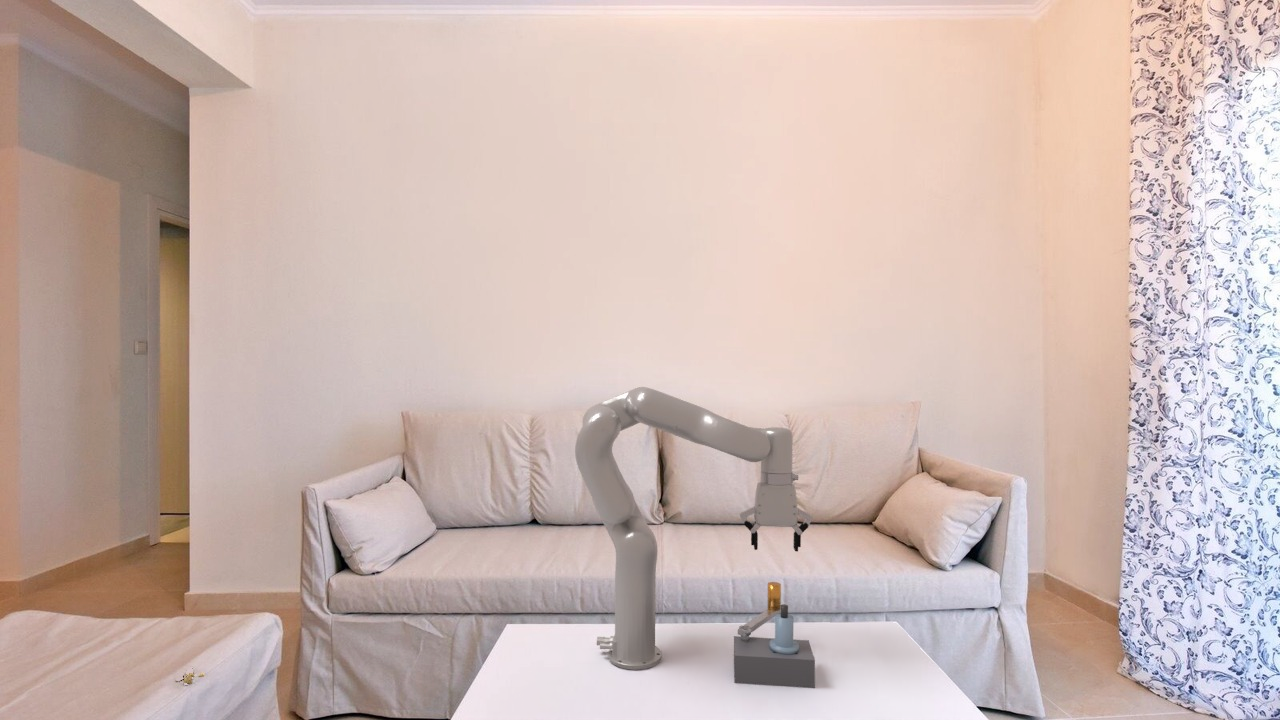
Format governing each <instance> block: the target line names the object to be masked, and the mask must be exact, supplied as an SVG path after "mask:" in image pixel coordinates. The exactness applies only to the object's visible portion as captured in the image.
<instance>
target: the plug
mask: <svg viewBox="0 0 1280 720" xmlns="http://www.w3.org/2000/svg"><path fill="white" fill-rule="evenodd" d="M774 638H775V639H772V640H771V641H770V649H771V650H772V651H773V652H775V653H778V654H783V655H792V654H796V653H797V652H798V651H799V644H798V643H797V642H796V641H794V640H795V639H794V616H793V615H791V614H789V605H787V604H784V603H783V604H782V603H781V610H780V613H779V614H777V615H775V617H774ZM793 639H794V640H793Z"/></svg>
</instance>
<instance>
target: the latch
mask: <svg viewBox="0 0 1280 720" xmlns="http://www.w3.org/2000/svg"><path fill="white" fill-rule="evenodd" d="M781 595H782V585H781V583H779V582H775V581H770V582H768V583H767V609H765V610H764V611H763V612H761V613H760V614H758V615H757V616H755V617H754V618H752V619H751V620H750V621H748V622H747V623H745V624H743V625H740V626H738V628H737V636H738V635H739V636H740V637H741V636H745V637H746V636H749V637H750V636H751V635H752V633H753V632H755V631H756V630H758V628H760V627H762V626H763V625H765V624H766V623H768V622H769V621H771V620H772V619H773V618H775V615H777V614H781V605H782V596H781Z"/></svg>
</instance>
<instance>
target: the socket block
mask: <svg viewBox="0 0 1280 720" xmlns="http://www.w3.org/2000/svg"><path fill="white" fill-rule="evenodd" d="M772 639H775V637H773V638H772V637H756V636H750V635H749V636H746V637H745V636H741V635H739V636H738V635H736V636H735V635H734V636H733V679H734V684H746V685H761V686H772V687H773V686H774V687H775V686H776V687H792V688H805V689H807V688H808V689H815V688H816V687H815V685H816V675H815V674H816V672H815V671H816V659H815V656H814V653H813V650H812V646H811V644H810V640H808V639H794V638H793V640H794V641H796V642H797V643H798V644H799V651H798V652H797V653H796V654H792V655H783V654H778V653H775V652H773V651H772V650H771V649H770V641H771V640H772Z"/></svg>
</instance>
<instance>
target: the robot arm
mask: <svg viewBox="0 0 1280 720" xmlns="http://www.w3.org/2000/svg"><path fill="white" fill-rule="evenodd" d="M638 424H642V425H645V426H648V427H651V428H654V429H656V430H660V431H662V432H664V433H668V434H670V435H673V436H675V437H678V438H680V439H683V440H687V441H689V442H692V443H694V444H697V445H702V446H705V447H709V448H711V449H714V450H717V451H719V452H722V453H724V454H727V455H730V456H732V457H736V458H739V459H741V460H744V461H747V462H750V463H759V462H760V482H757V483H756V490H755V494H754V495H755V497H754V506H752V507H750V508H748V509H746V510H744V511H742V512H740V513H739V516H740V519H741V520H742V523H743V525H744V526H745V527H746V528H747V529H748V530H749V532H750V538H751V539H750V544H751V546H753V549H754V551H758V546H759V545H758V544H759V543H758V541H759V539H758V538H759V537H758V535H759V533H758V530H759V528H760V527H775V528H776V527H779V528H782V527H784V528H792V529H793V530H794V532H793V550H794V551H795V552H799V548H801V545H802V543H801V542H802V539H801V538H802V535H803V533H804V532H805V531H806V530H807V529H808V528H809V526H810V524H811V522H812V520H813V515H812V514H810V513H808V512H806V511H805V510H802V509H800V508H799V507H798V500H797V499H798V498H797V491H796V485H795V483H793V482H795V481H798V480H799V474H795V473H794V472H793V445H794V444H793V437H794V436H793V432H792V431H791V429H789V428H785V427H773V426H772V427H766V428H761V427H751V426H747V425H745V424H743V423H742V424H741V423H739V422H737V421H734V420H731V419H729V418H726V417H724V416H721V415H719V414H716V413H715V412H712V411H710V410H709V409H706V408H704V407H702V406H700V405H697V404H694V403H691V402H688V401H685V400H683V399H680V398H677V397H675V396H672V395H670V394H667V393H665V392H662V391H659V390H657V389H654V388H651V387H646V386H639V387H635V388H633V389H631V390H630V389H629V391H626V392H623V393H621V394H619V395H617V396H613V397H612V398H609V399H607V400H604V401H601V402H599V403H597V404H595V405H592V406H590V407H589V408H588V409H587V410H586V411H585V413H584V414H583V417H582V426H581V428H580V431H579V433H578V434H577V437H576V441H575V445H574V454H575V455H574V456H575V460H576V465H577V468H578V470H579V471H580V474H581V477H582V478H583V480H584V483H585V485H586V487H587V490H588V492H589V494H590V496H591V498H592V502H593V505H594V508H595V510H596V512H597V513H598V516H599V518H600V519H601V521H602V524H603V526H604V527H605V529H606V532H607V534H608V535H609V538H610V539H611V541H612V544H613V547H614V549H615V571H614V635H611V636H610V637H605V636H597V637H596V645H597V646H599V649H600V650H608V653H607V655H608V656H607V659H608V660H609V662H610V663H611V664H612V665H614V666H616V667H618V668H621V669H626V670H643V669H644V670H645V669H649V668H652V667H654V666H656V665H659V663H660V662H661V661H662V658H663V656H662V654H663V653H662V649H660V648H659V647H658V646H656V575H657V573H656V572H657V562H658V561H657V560H658V542H657V539H656V536H655V534H654V532H653V531H652V529H651V528H650V526H649V525H648V523H647V521H646V520H645V518H644V516H643V514H642V512H641V510H640V508H639V506H638V503H637V501H636V500H635V496H634V494H633V491H632V489H631V488H630V486H629V485H628V484H627V482H626V480H625V478H624V476H623V475H622V472H621V471H620V468H619V465H618V464H617V461H616V459H615V457H614V454H613V447H614V446H613V445H614V442H615V441H616V440H617V438H618V436H619V435H620V432H622V431H624V430H626V429H629V428H631V427H633V426H636V425H638ZM751 515H754V522H753V523H751V522H750V521H749V519H748V517H750V516H751ZM799 516H800V517H802V518H804V521H803V522H802V523H800V524H799V525H798V520H799Z"/></svg>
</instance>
